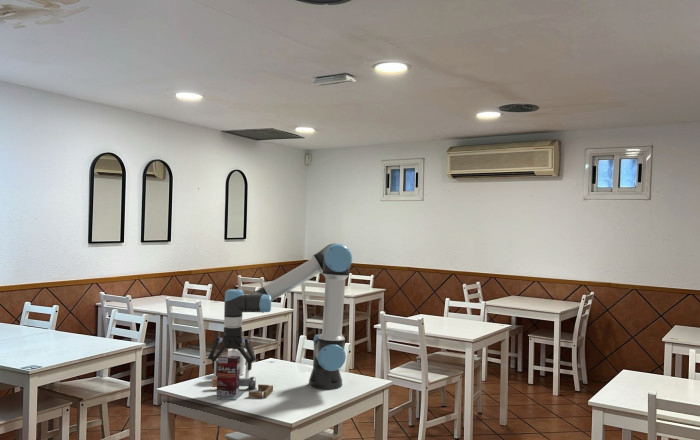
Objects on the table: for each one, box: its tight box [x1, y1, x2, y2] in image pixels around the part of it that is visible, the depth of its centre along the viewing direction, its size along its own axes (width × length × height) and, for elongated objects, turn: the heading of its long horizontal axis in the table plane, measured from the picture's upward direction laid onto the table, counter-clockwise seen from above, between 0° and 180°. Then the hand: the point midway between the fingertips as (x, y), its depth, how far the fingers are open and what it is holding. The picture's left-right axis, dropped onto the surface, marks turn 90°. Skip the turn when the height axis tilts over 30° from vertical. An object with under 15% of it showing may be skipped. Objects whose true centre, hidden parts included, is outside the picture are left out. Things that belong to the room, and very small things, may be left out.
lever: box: [211, 376, 257, 389], centre depth 248 cm, size 3×19×5 cm, turn 97°
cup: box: [227, 347, 247, 376], centre depth 275 cm, size 9×9×12 cm
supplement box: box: [216, 354, 241, 396], centre depth 238 cm, size 9×5×16 cm, turn 83°
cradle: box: [246, 383, 274, 399], centre depth 243 cm, size 12×15×2 cm
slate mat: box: [216, 390, 245, 401], centre depth 238 cm, size 8×12×1 cm, turn 173°
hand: (231, 377), depth 238 cm, fingers open, 13 cm apart
